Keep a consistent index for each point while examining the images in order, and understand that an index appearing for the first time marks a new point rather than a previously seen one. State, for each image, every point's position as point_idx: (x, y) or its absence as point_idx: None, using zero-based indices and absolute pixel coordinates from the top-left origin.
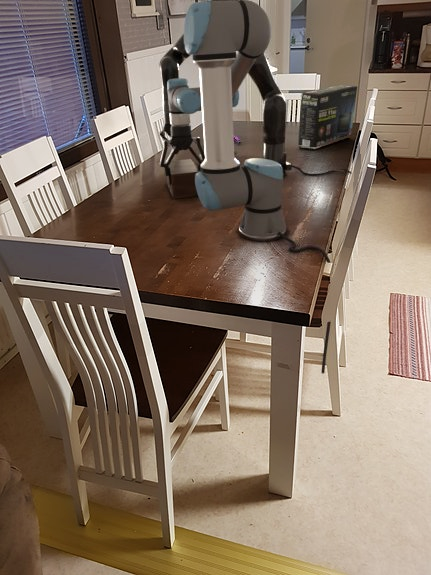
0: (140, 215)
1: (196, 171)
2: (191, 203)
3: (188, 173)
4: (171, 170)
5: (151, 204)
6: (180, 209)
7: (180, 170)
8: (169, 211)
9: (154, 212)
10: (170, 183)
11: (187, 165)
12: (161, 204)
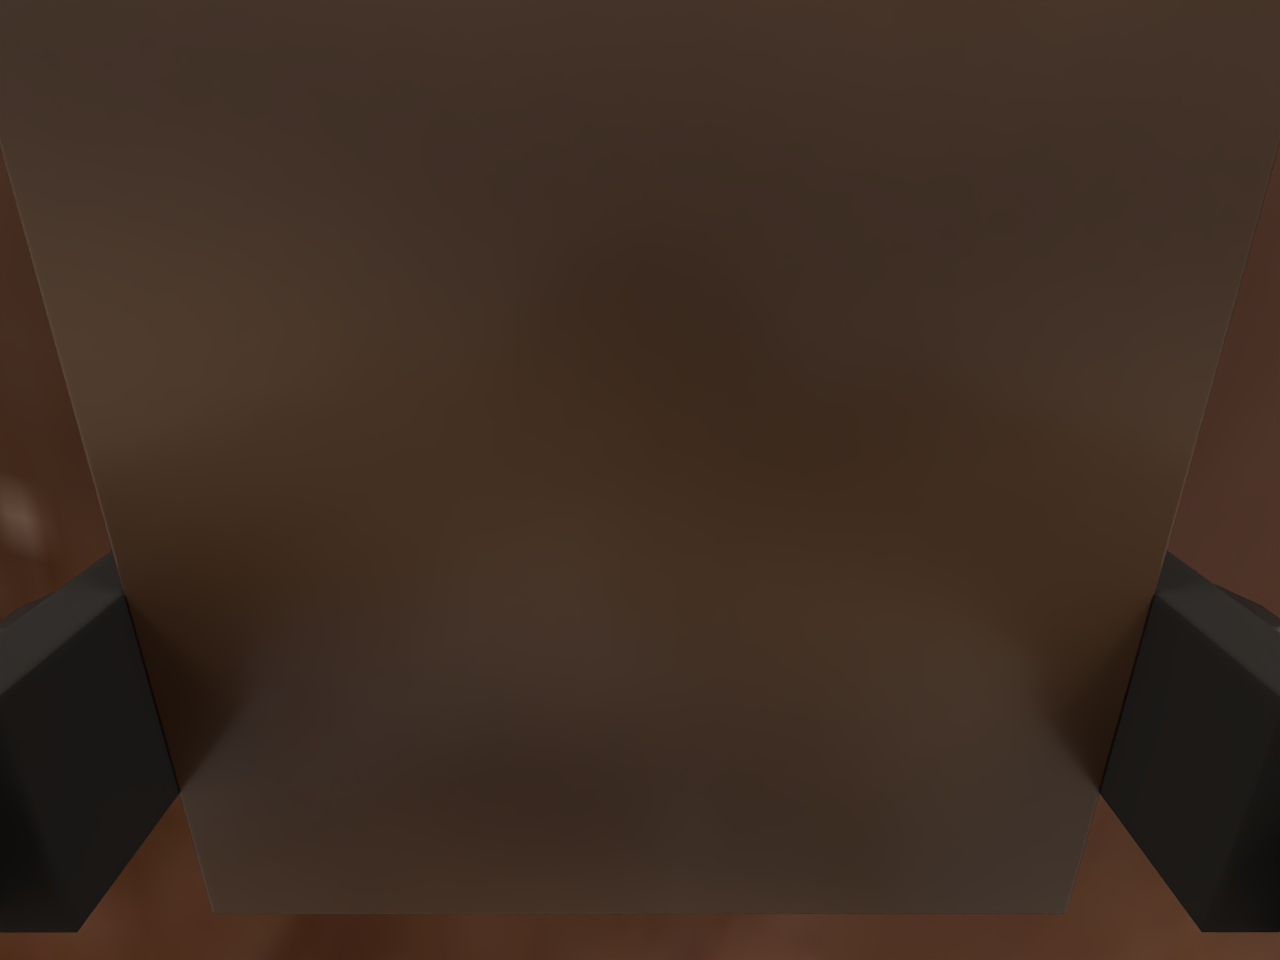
0: (5, 945)
1: (989, 898)
2: None
3: (731, 890)
4: (193, 565)
5: None
6: (487, 914)
7: (523, 669)
8: (351, 931)
9: (166, 914)
10: None
11: (944, 70)
12: None
